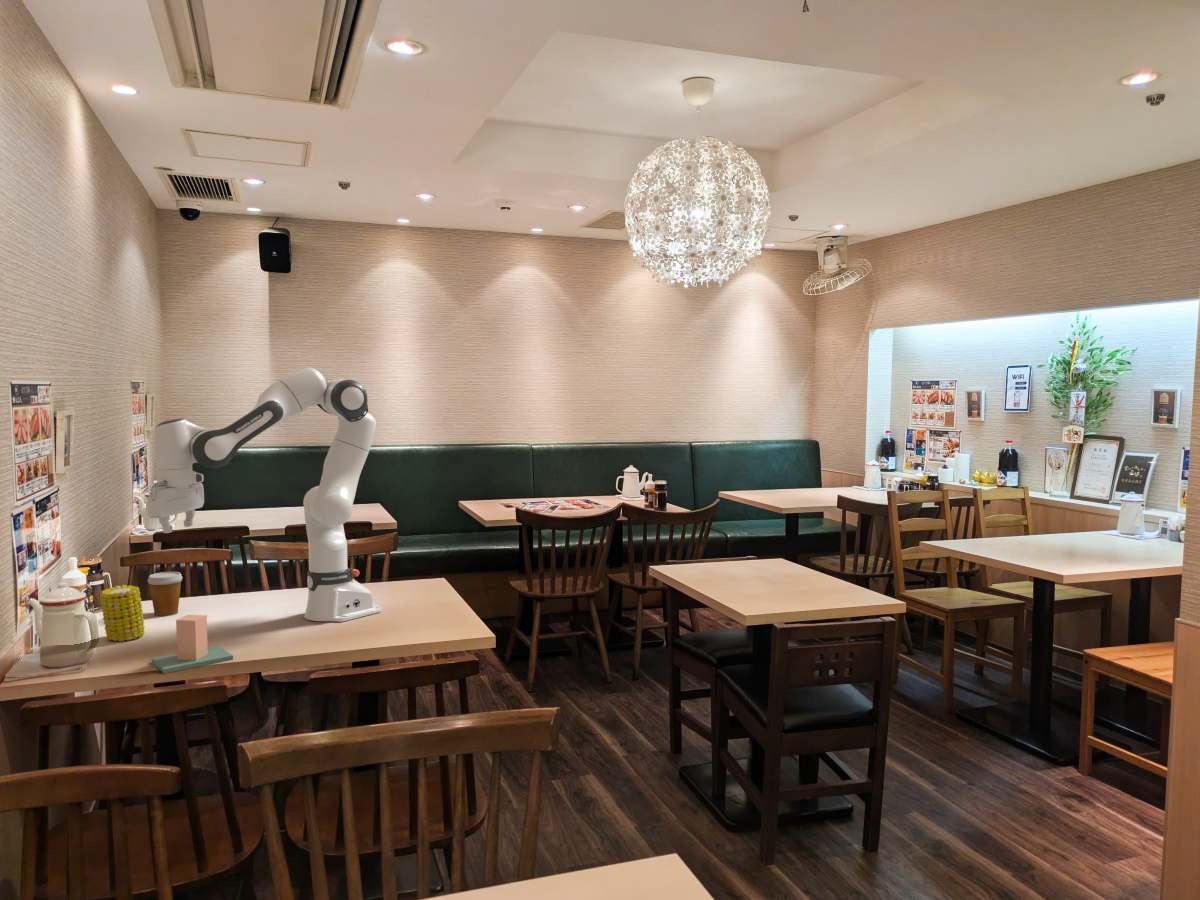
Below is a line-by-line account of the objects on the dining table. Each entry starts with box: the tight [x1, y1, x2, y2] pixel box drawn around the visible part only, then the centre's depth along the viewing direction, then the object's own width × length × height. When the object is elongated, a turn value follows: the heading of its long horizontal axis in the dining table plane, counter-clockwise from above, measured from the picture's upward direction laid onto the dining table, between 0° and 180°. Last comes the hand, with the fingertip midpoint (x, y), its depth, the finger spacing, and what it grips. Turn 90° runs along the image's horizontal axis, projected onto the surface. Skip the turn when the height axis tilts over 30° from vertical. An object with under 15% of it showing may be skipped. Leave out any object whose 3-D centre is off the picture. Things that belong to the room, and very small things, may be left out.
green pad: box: [150, 645, 234, 674], centre depth 209 cm, size 16×11×1 cm
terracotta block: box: [175, 614, 209, 660], centre depth 209 cm, size 5×5×10 cm
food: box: [99, 584, 146, 643], centre depth 228 cm, size 15×12×10 cm
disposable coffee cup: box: [146, 571, 184, 617], centre depth 254 cm, size 10×10×12 cm
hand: (178, 529), depth 227 cm, fingers open, 8 cm apart
